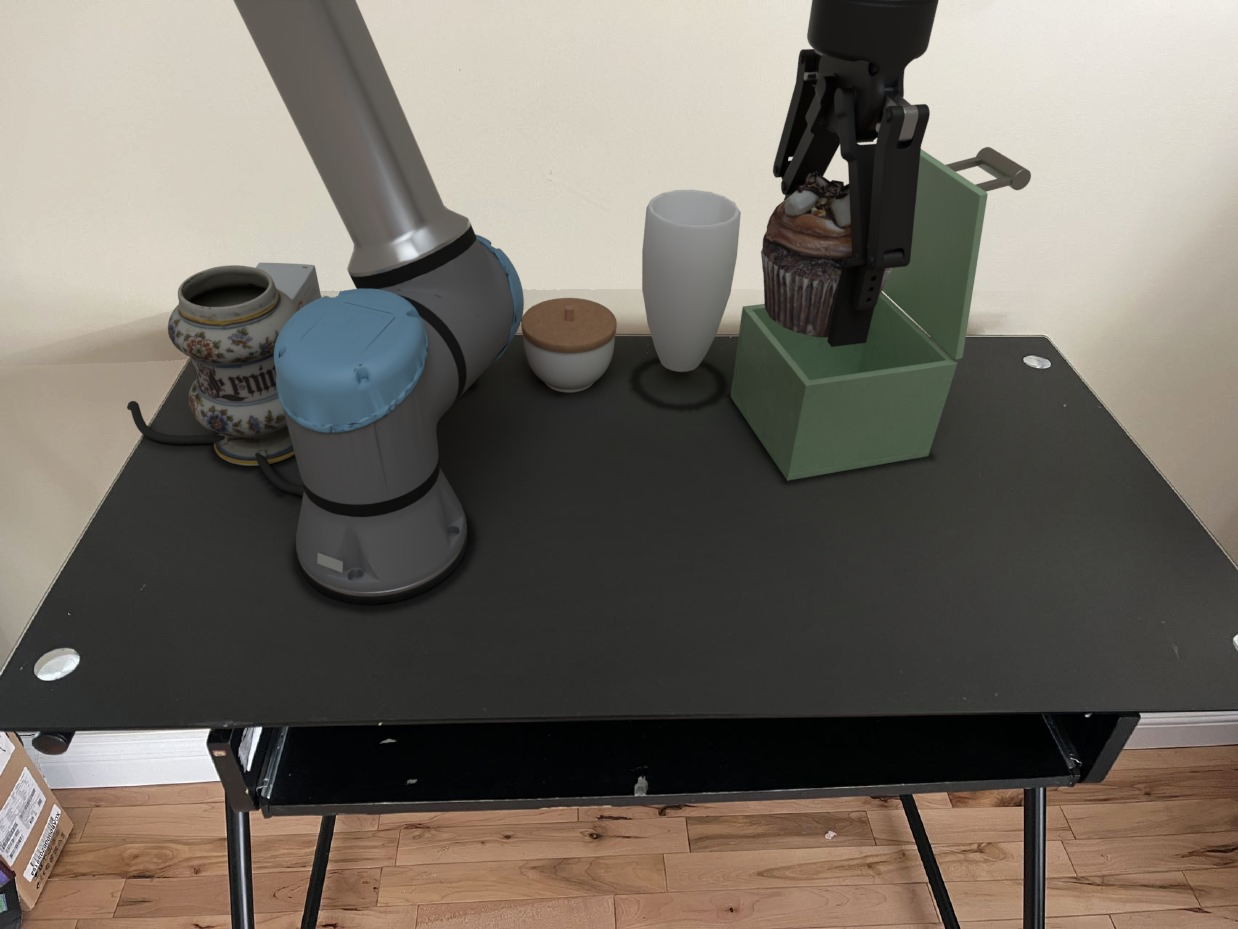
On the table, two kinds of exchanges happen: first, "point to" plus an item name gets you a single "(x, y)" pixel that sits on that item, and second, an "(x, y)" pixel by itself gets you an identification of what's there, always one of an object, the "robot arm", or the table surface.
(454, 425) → the table surface
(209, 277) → the apothecary jar
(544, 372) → the white bowl with lid
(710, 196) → the cup
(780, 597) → the table surface
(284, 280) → the small box
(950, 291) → the green box lid
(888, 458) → the green open box
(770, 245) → the cupcake
